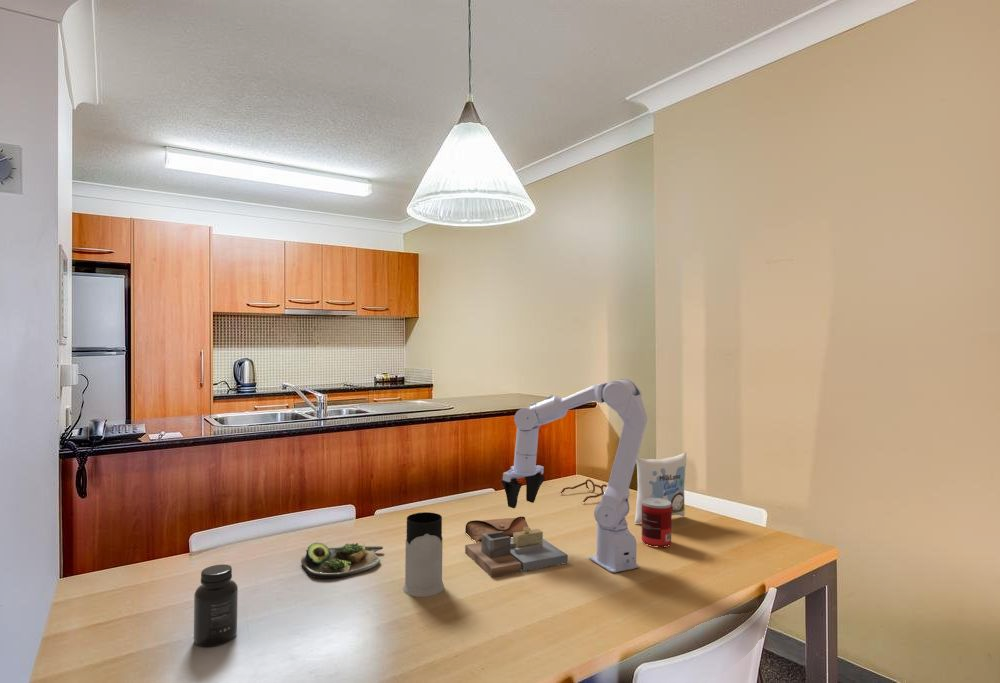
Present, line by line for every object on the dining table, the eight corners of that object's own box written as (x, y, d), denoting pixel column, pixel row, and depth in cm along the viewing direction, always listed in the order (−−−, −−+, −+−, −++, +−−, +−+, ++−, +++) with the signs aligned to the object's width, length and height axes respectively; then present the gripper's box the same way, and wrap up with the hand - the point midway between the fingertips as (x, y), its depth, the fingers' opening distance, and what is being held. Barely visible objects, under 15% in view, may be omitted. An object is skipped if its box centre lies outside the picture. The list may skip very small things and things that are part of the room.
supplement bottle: (243, 627, 101) (244, 561, 101) (226, 648, 94) (227, 577, 94) (205, 627, 101) (206, 561, 101) (185, 648, 94) (186, 577, 94)
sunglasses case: (473, 543, 145) (470, 517, 148) (467, 548, 151) (464, 523, 154) (536, 536, 151) (532, 511, 154) (528, 541, 157) (523, 517, 160)
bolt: (542, 546, 137) (542, 527, 137) (517, 550, 134) (517, 530, 134) (537, 543, 140) (538, 524, 140) (513, 547, 137) (513, 527, 137)
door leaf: (567, 563, 132) (567, 550, 133) (523, 571, 127) (523, 558, 127) (535, 541, 147) (535, 530, 147) (494, 548, 142) (494, 536, 142)
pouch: (626, 520, 166) (626, 453, 166) (677, 513, 173) (678, 449, 173) (642, 528, 158) (642, 458, 158) (695, 521, 165) (696, 454, 165)
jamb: (521, 571, 127) (521, 544, 127) (491, 577, 124) (492, 549, 124) (492, 548, 142) (492, 524, 142) (465, 552, 138) (465, 528, 138)
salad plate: (371, 544, 145) (371, 526, 145) (398, 567, 130) (398, 547, 130) (294, 559, 134) (294, 540, 134) (314, 586, 119) (314, 565, 119)
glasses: (612, 500, 188) (612, 485, 188) (581, 505, 182) (581, 490, 182) (587, 491, 200) (587, 477, 200) (558, 496, 193) (558, 481, 193)
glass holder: (405, 599, 113) (405, 525, 113) (398, 571, 127) (399, 505, 127) (447, 594, 115) (448, 522, 116) (436, 567, 129) (437, 503, 129)
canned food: (668, 538, 150) (668, 498, 150) (674, 549, 142) (674, 506, 142) (639, 537, 151) (639, 496, 151) (644, 547, 143) (644, 505, 143)
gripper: (531, 446, 152) (526, 495, 152) (495, 452, 141) (491, 505, 142) (551, 452, 147) (547, 502, 148) (516, 459, 136) (512, 513, 137)
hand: (521, 504), depth 144 cm, fingers open, 7 cm apart
